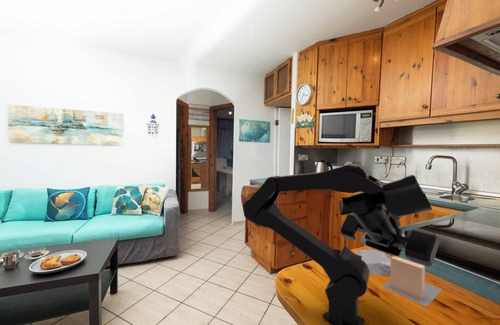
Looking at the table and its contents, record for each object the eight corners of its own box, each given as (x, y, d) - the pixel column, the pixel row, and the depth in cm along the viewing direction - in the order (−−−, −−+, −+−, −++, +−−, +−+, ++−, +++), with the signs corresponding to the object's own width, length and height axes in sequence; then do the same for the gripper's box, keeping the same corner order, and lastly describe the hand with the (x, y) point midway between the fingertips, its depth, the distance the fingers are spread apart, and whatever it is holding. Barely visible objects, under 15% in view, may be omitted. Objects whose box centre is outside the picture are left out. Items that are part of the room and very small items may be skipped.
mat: (426, 307, 52) (426, 306, 52) (381, 287, 61) (381, 286, 61) (442, 290, 59) (442, 289, 59) (399, 274, 67) (399, 273, 67)
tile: (421, 300, 54) (421, 268, 54) (390, 286, 60) (390, 257, 60) (424, 297, 56) (425, 265, 55) (394, 283, 61) (394, 255, 61)
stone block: (364, 281, 67) (400, 277, 65) (360, 265, 67) (396, 261, 65) (353, 263, 78) (384, 260, 76) (350, 250, 79) (381, 246, 77)
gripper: (437, 193, 42) (454, 238, 48) (347, 182, 57) (369, 217, 64) (419, 244, 38) (440, 285, 44) (327, 218, 53) (353, 251, 60)
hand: (395, 254), depth 53 cm, fingers closed
